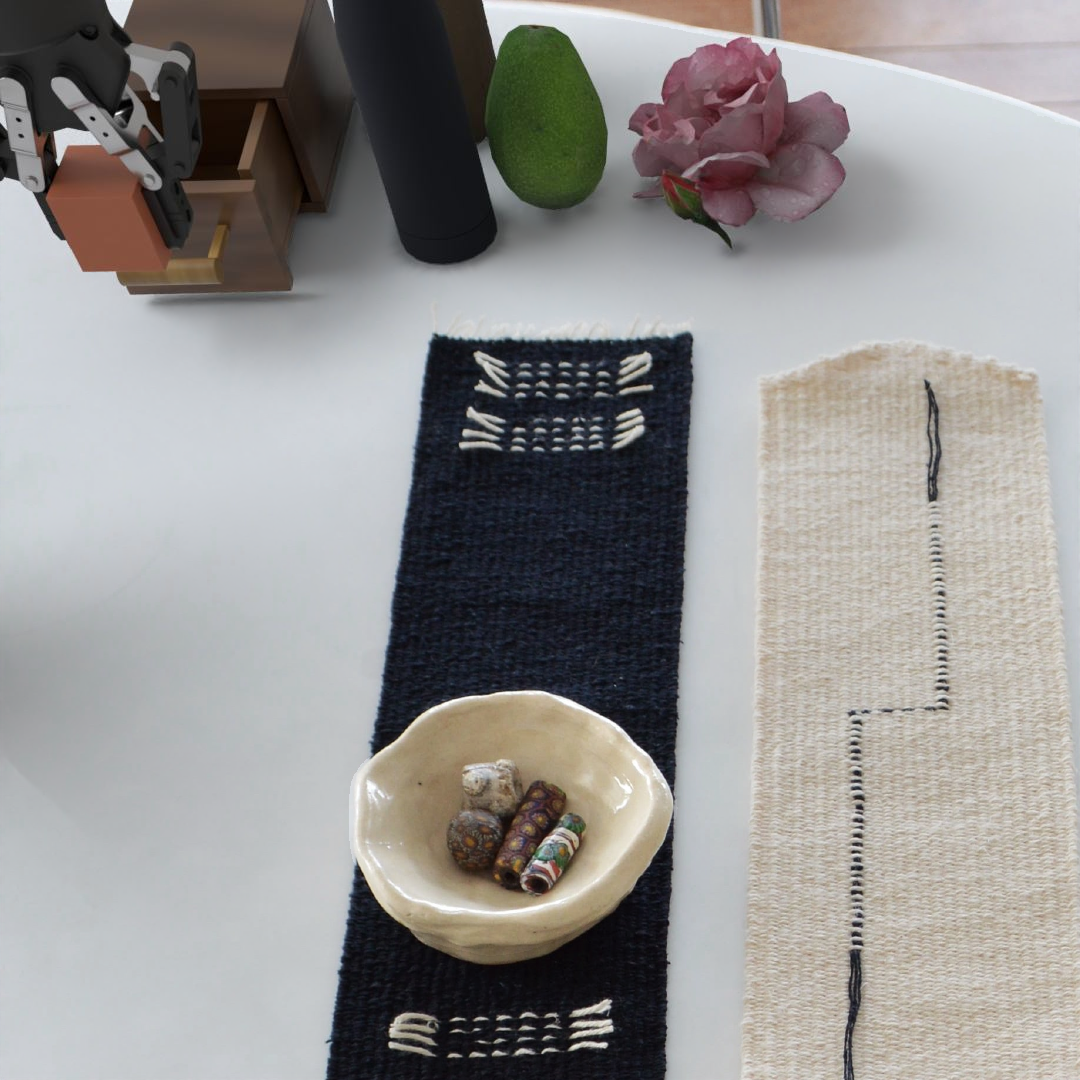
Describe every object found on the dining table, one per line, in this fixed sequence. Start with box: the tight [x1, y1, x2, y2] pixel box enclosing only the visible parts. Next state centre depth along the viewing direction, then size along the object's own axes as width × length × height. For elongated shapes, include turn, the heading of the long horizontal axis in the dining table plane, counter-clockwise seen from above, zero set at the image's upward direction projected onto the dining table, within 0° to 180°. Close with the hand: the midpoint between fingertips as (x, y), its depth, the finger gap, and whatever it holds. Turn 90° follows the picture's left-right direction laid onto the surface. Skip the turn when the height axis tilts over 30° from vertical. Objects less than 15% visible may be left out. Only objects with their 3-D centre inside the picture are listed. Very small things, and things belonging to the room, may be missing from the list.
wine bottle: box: [331, 0, 498, 265], centre depth 104 cm, size 6×6×30 cm
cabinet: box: [122, 0, 356, 214], centre depth 118 cm, size 14×12×9 cm
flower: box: [627, 36, 851, 252], centre depth 115 cm, size 15×15×10 cm
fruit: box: [485, 24, 609, 211], centre depth 114 cm, size 8×8×12 cm
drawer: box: [115, 98, 305, 296], centre depth 112 cm, size 17×10×7 cm, turn 2°
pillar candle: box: [437, 0, 497, 144], centre depth 118 cm, size 10×10×15 cm
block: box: [46, 144, 173, 273], centre depth 91 cm, size 4×4×4 cm
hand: (130, 238), depth 93 cm, fingers closed on block, 4 cm apart
